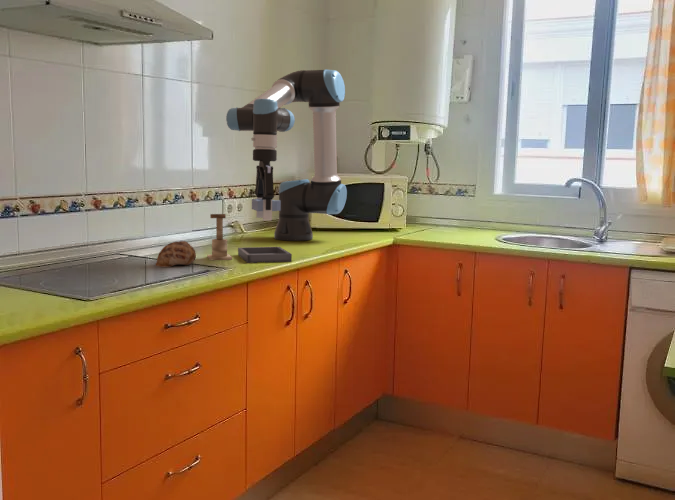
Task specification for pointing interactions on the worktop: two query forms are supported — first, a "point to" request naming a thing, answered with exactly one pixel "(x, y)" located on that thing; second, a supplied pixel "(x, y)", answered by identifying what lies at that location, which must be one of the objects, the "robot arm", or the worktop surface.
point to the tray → (264, 254)
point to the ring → (258, 205)
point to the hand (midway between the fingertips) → (263, 219)
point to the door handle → (219, 240)
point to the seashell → (176, 254)
